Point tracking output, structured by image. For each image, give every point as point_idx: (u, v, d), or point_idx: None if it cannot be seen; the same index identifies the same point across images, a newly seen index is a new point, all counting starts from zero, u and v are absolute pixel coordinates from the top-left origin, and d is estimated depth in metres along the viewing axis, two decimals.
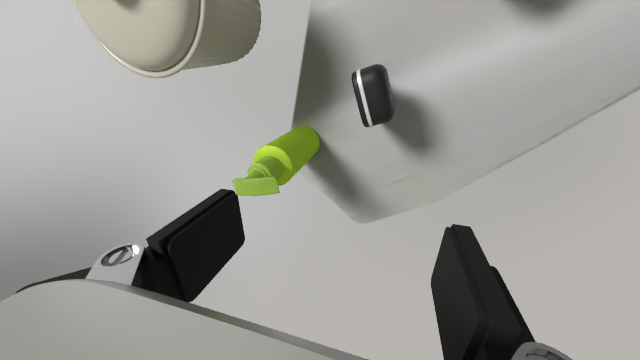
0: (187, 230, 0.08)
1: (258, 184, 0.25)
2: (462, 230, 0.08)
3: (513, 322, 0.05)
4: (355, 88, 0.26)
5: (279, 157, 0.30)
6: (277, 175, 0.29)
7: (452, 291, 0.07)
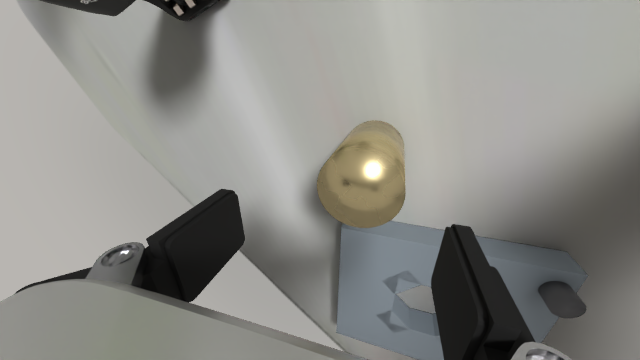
0: (187, 230, 0.08)
1: None
2: (462, 230, 0.08)
3: (513, 322, 0.05)
4: None
5: None
6: None
7: (452, 291, 0.07)
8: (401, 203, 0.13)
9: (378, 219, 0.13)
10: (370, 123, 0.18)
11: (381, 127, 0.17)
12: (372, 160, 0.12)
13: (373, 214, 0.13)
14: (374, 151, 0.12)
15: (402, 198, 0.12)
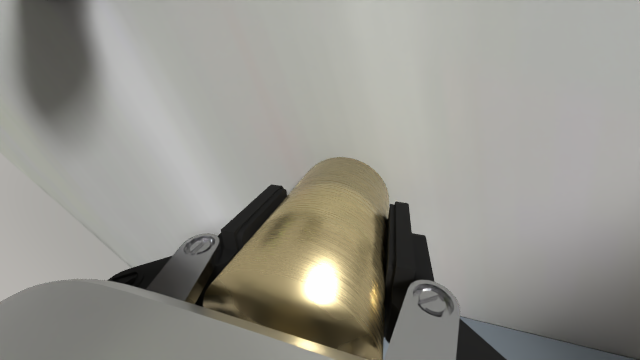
0: (253, 222, 0.09)
1: None
2: (400, 205, 0.09)
3: (411, 265, 0.06)
4: None
5: None
6: None
7: None
8: None
9: None
10: (333, 165, 0.11)
11: (348, 176, 0.10)
12: (304, 298, 0.05)
13: None
14: (308, 277, 0.05)
15: None
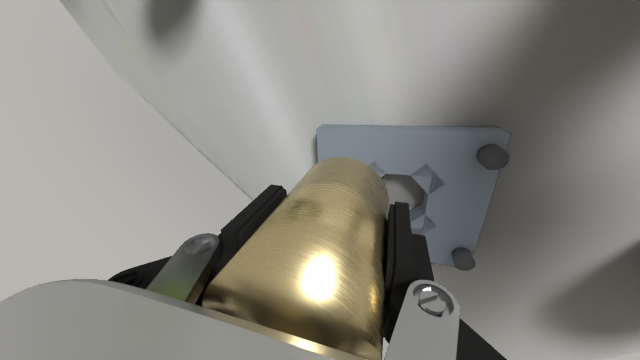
0: (253, 222, 0.09)
1: None
2: (400, 205, 0.09)
3: (411, 265, 0.06)
4: None
5: None
6: None
7: None
8: None
9: None
10: (332, 164, 0.11)
11: (348, 175, 0.10)
12: (303, 297, 0.05)
13: None
14: (307, 275, 0.05)
15: None
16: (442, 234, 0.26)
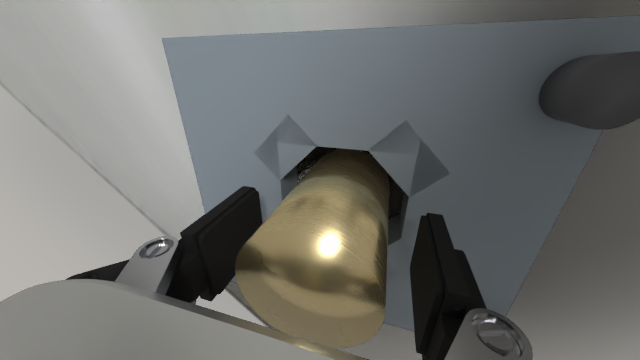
0: (216, 225, 0.08)
1: None
2: (434, 217, 0.09)
3: (465, 291, 0.06)
4: None
5: None
6: None
7: (422, 271, 0.08)
8: (379, 323, 0.07)
9: (341, 339, 0.08)
10: (339, 155, 0.12)
11: (353, 163, 0.11)
12: (322, 251, 0.06)
13: (332, 331, 0.08)
14: (326, 234, 0.06)
15: (380, 316, 0.07)
16: None
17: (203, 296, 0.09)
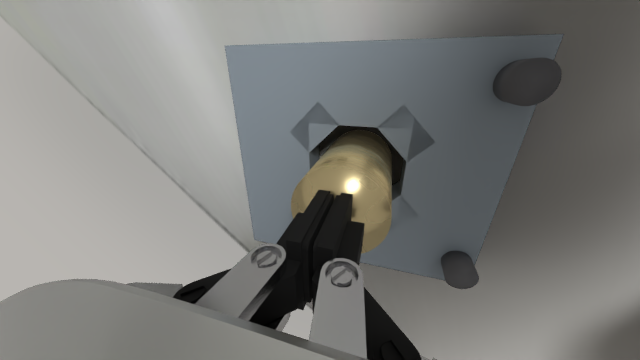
0: (314, 231, 0.08)
1: None
2: (343, 196, 0.10)
3: (331, 245, 0.07)
4: None
5: None
6: None
7: None
8: (387, 229, 0.11)
9: None
10: (355, 133, 0.16)
11: (366, 138, 0.15)
12: (353, 180, 0.10)
13: None
14: (356, 169, 0.10)
15: (388, 224, 0.11)
16: (427, 228, 0.16)
17: None
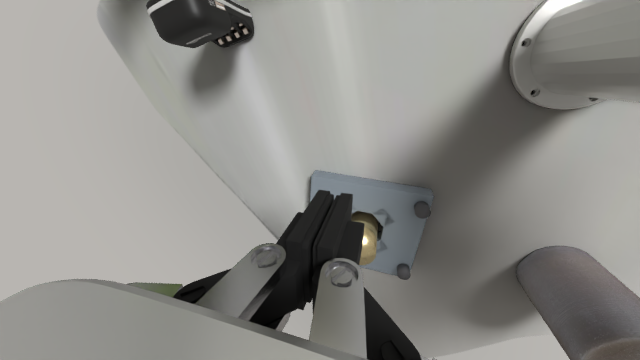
0: (314, 231, 0.08)
1: None
2: (343, 196, 0.10)
3: (331, 245, 0.07)
4: None
5: None
6: None
7: None
8: (374, 257, 0.32)
9: (365, 262, 0.33)
10: None
11: (367, 216, 0.37)
12: (364, 241, 0.32)
13: (363, 260, 0.33)
14: (365, 238, 0.32)
15: (375, 255, 0.32)
16: (391, 253, 0.38)
17: None
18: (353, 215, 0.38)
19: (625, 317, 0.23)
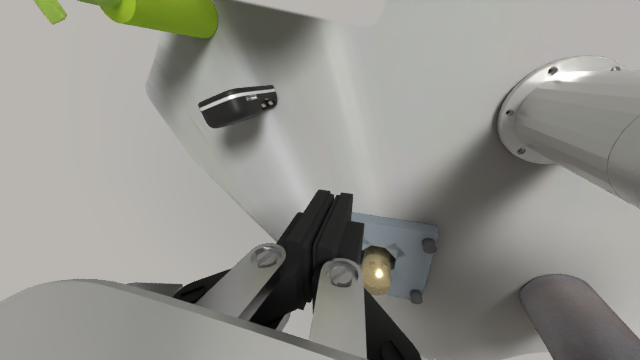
0: (314, 231, 0.08)
1: None
2: (343, 196, 0.10)
3: (331, 246, 0.07)
4: (221, 95, 0.28)
5: (124, 3, 0.24)
6: (96, 4, 0.24)
7: None
8: (389, 289, 0.37)
9: (381, 292, 0.38)
10: None
11: (381, 249, 0.42)
12: (379, 276, 0.37)
13: (379, 291, 0.38)
14: (380, 273, 0.37)
15: (389, 287, 0.37)
16: (404, 281, 0.43)
17: None
18: (368, 248, 0.43)
19: (609, 345, 0.27)
